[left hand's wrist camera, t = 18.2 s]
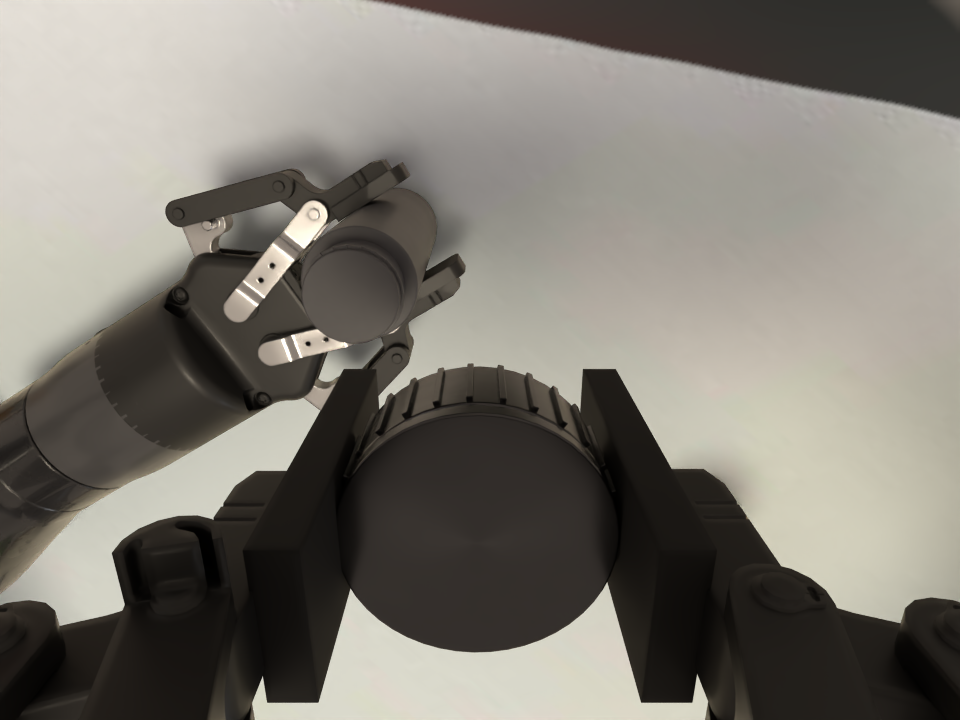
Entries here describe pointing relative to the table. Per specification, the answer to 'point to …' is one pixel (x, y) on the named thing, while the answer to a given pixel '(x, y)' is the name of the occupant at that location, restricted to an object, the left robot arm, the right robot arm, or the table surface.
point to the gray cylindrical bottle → (369, 268)
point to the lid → (477, 511)
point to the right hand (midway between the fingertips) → (432, 217)
